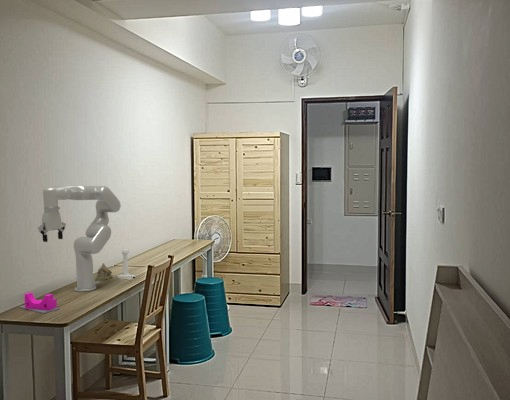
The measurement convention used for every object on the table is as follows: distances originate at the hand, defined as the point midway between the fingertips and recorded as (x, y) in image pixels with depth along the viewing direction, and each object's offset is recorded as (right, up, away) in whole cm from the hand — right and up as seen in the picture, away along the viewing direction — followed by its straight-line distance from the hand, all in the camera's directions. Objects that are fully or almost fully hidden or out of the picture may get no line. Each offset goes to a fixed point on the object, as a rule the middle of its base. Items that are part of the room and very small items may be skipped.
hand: (53, 240), depth 307 cm
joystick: (+29, -29, +52) cm, 66 cm away
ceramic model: (+14, -29, +53) cm, 62 cm away
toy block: (+2, -34, -21) cm, 40 cm away
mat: (0, -34, -20) cm, 40 cm away
